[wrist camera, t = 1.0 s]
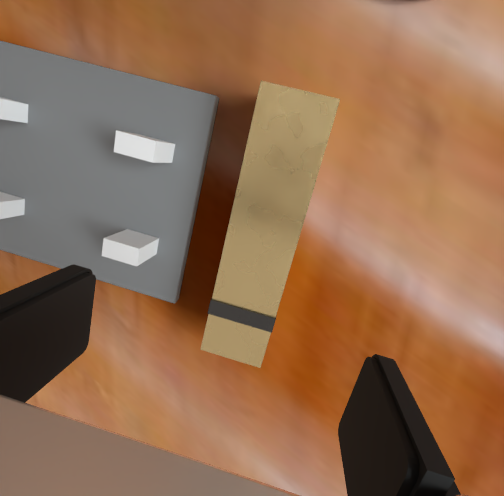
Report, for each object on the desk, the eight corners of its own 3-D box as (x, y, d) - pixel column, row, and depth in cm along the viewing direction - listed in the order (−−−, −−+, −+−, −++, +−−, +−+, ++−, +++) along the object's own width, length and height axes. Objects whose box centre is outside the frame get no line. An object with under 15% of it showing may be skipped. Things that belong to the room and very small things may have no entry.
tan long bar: (268, 96, 24) (259, 79, 19) (332, 112, 24) (341, 98, 19) (215, 319, 30) (199, 350, 25) (267, 335, 30) (260, 369, 25)
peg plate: (-20, 37, 26) (-83, 12, 22) (219, 98, 25) (202, 84, 20) (-19, 238, 31) (-69, 250, 27) (178, 299, 30) (158, 321, 26)
